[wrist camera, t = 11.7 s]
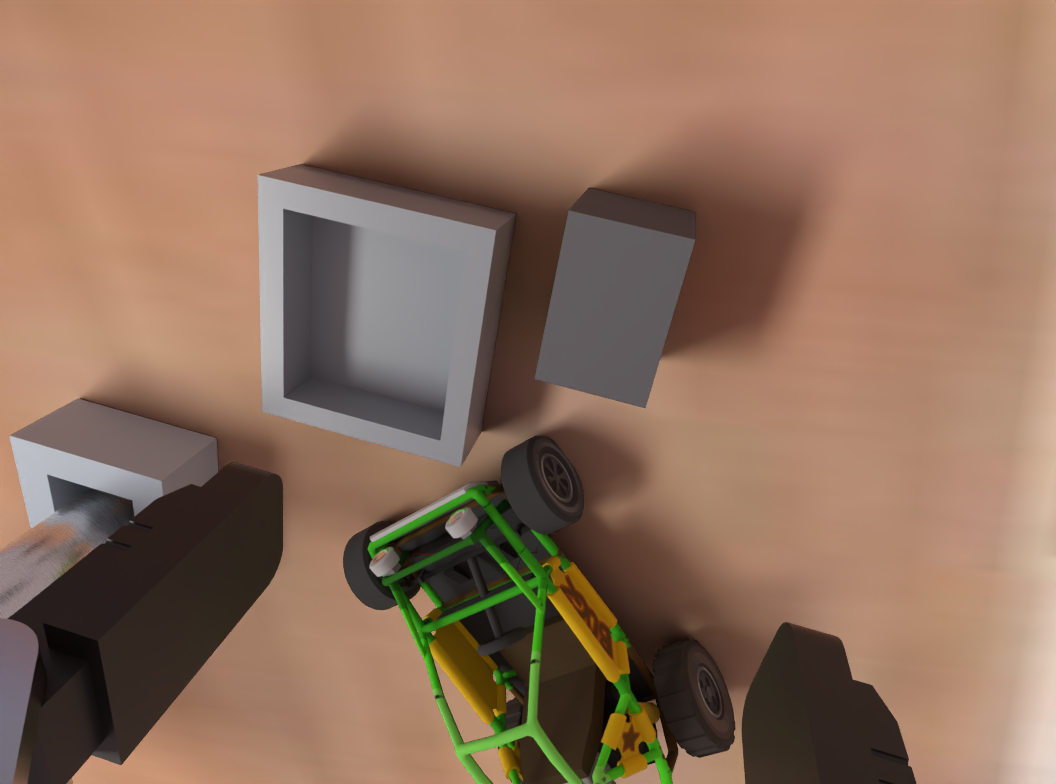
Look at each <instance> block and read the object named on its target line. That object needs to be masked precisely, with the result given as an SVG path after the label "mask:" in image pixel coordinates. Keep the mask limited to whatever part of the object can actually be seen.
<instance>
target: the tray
mask: <svg viewBox="0 0 1056 784" xmlns="http://www.w3.org/2000/svg"><path fill="white" fill-rule="evenodd" d="M516 214H517V213H512V212H508V211H504V210H499V209H495V208H491V207H486V206H482V205H477V204H473V203H469V202H464V201H460V200H456V199H451V198H447V197H442V196H438V195H434V194H429V193H425V192H421V191H416V190H412V189H407V188H403V187H399V186H394V185H390V184H386V183H381V182H377V181H373V180H368V179H364V178H359V177H355V176H351V175H346V174H342V173H338V172H333V171H329V170H324V169H320V168H316V167H311V166H307V165H303V164H299V165H295V166H291V167H287V168H283V169H279V170H275V171H271V172H267V173H263V174H259V175H258V220H259V272H260V323H261V375H262V412H264V413H268V414H272V415H275V416H279V417H282V418H286V419H289V420H293V421H297V422H300V423H304V424H307V425H311V426H315V427H318V428H322V429H325V430H329V431H332V432H336V433H340V434H343V435H347V436H350V437H354V438H358V439H361V440H365V441H368V442H372V443H375V444H379V445H383V446H386V447H390V448H393V449H397V450H401V451H404V452H408V453H411V454H415V455H418V456H422V457H426V458H429V459H433V460H436V461H440V462H443V463H447V464H451V465H454V466H458V467H461V466H462V464H463V462H464V461H465V459H466V457H467V456H468V454H469V452H470V451H471V449H472V447H473V445H474V444H475V442H476V440H477V439H478V437H479V435H480V433H481V430H482V424H483V418H484V412H485V405H486V399H487V393H488V387H489V381H490V375H491V368H492V362H493V356H494V350H495V344H496V338H497V331H498V325H499V319H500V313H501V307H502V301H503V294H504V288H505V282H506V276H507V270H508V264H509V257H510V251H511V245H512V239H513V233H514V227H515V220H516Z"/></svg>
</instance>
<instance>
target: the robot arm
mask: <svg viewBox="0 0 1056 784" xmlns="http://www.w3.org/2000/svg"><path fill="white" fill-rule="evenodd" d="M282 551H283V483H282V480H281V477H280V476H279V475H277V474H273V473H270V472H266V471H263V470H259V469H256V468H252V467H249V466H245V465H242V464H238V463H230V464H228V465H226V466H225V467H224V468H223V469H221V470H220V471H219V472H218V473H217V474H216V475H214V476H213V477H212V478H211V479H210V480H209V481H207V482H206V483H205V484H204V485H203V486H202V487H200V486H196V485H193V484H190V485H187V486H185V487H183V488H180V489H178V490H176V491H173V492H171V493H169V494H167V495H164V496H162V497H160V498H157V499H156V500H154V501H153V502H152V503H151V504H149V505H148V506H147V507H146V508H144V509H143V510H142V511H141V512H139V513H138V514H137V515H136V516H135V517H133V518H132V519H131V520H130V521H129V524H128V525H127V526H126V525H123V526H122V527H121V528H120V529H118V530H117V531H116V532H115V533H113V534H112V535H111V536H110V537H108V538H107V542H106V543H105V544H102V543H101V544H100V545H99V546H97V547H96V548H95V549H94V550H92V551H91V552H90V553H89V554H87V555H86V556H85V557H84V558H82V559H81V560H80V561H79V562H77V563H76V564H75V565H74V566H73V567H71V568H70V569H69V570H68V571H66V572H65V573H64V574H63V575H61V576H60V577H59V578H58V579H56V580H55V581H54V582H53V583H51V584H50V585H49V586H48V587H47V588H45V589H44V590H43V591H42V592H40V593H39V594H38V595H37V596H35V597H34V598H33V599H32V600H30V601H29V602H28V603H27V604H25V605H24V606H23V607H22V608H20V609H19V610H18V611H17V612H15V613H14V614H13V615H11V616H10V617H9V618H7V619H3V618H0V784H73V781H72V777H73V776H74V774H75V773H76V772H77V771H78V770H79V769H80V768H81V766H82V765H83V764H84V763H85V762H86V761H87V759H88V758H89V757H90V756H91V755H93V756H96V757H99V758H102V759H105V760H108V761H110V762H113V763H116V764H119V765H122V764H123V763H124V761H125V760H126V759H127V758H128V756H129V755H130V754H131V753H132V752H133V750H134V749H135V748H136V747H137V745H138V744H139V743H140V742H141V741H142V739H143V738H144V737H145V736H146V734H147V733H148V732H149V731H150V730H151V728H152V727H153V726H154V725H155V723H156V722H157V721H158V720H159V719H160V717H161V716H162V715H163V714H164V712H165V711H166V710H167V709H168V707H169V706H170V705H171V704H172V703H173V701H174V700H175V699H176V698H177V696H178V695H179V694H180V693H181V692H182V690H183V689H184V688H185V687H186V685H187V684H188V683H189V682H190V681H191V679H192V678H193V677H194V676H195V674H196V673H197V672H198V671H199V670H200V668H201V667H202V666H203V665H204V663H205V662H206V661H207V660H208V659H209V657H210V656H211V655H212V654H213V652H214V651H215V650H216V649H217V648H218V646H219V645H220V644H221V643H222V641H223V640H224V639H225V638H226V637H227V635H228V634H229V633H230V632H231V630H232V629H233V628H234V627H235V626H236V624H237V623H238V622H239V621H240V619H241V618H242V617H243V616H244V615H245V613H246V612H247V611H248V610H249V608H250V607H251V606H252V605H253V603H254V602H255V601H256V600H257V599H258V597H259V596H260V595H261V594H262V592H263V591H264V590H265V589H266V588H267V586H268V585H269V584H270V582H271V580H272V579H273V577H274V575H275V573H276V571H277V569H278V566H279V563H280V560H281V556H282ZM742 743H743V757H744V770H745V784H916V781H915V777H914V774H913V771H912V768H911V767H910V766H908V760H909V758H908V755H907V752H906V749H905V745H904V742H903V739H902V736H901V733H900V729H899V726H898V723H897V721H896V719H895V718H894V716H893V715H892V714H891V712H890V711H889V709H888V708H887V706H886V705H885V703H884V702H883V701H882V699H881V698H880V696H879V695H878V693H877V692H876V690H875V689H874V687H873V686H872V685H869V684H866V683H863V682H859V681H856V680H853V679H852V676H851V672H850V668H849V664H848V660H847V656H846V653H845V649H844V646H843V643H842V641H841V640H840V639H839V638H838V637H837V636H833V635H830V634H826V633H823V632H819V631H816V630H812V629H809V628H805V627H802V626H798V625H795V624H791V623H788V622H785V623H783V624H782V625H781V626H780V627H779V629H778V631H777V633H776V635H775V637H774V639H773V641H772V643H771V645H770V647H769V649H768V651H767V653H766V655H765V657H764V659H763V661H762V664H761V666H760V668H759V670H758V672H757V674H756V676H755V678H754V680H753V682H752V684H751V686H750V688H749V691H748V694H747V697H746V700H745V705H744V710H743V717H742Z"/></svg>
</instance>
